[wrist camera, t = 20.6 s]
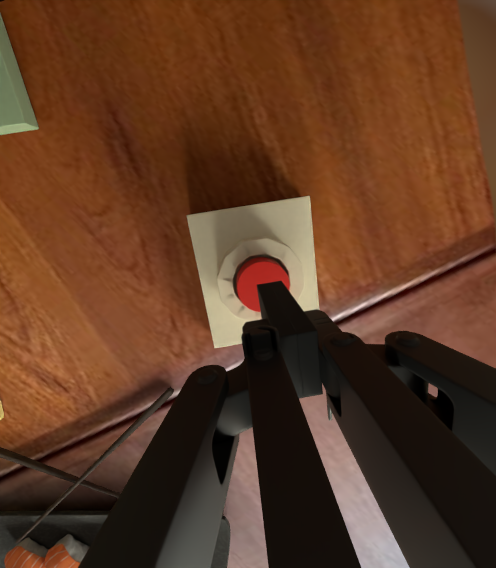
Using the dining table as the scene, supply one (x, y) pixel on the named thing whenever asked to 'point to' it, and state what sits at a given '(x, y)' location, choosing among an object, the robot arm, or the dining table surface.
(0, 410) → the cheese
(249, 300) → the stop button
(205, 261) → the control block
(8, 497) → the dining table surface
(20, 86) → the switch bracket
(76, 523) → the sushi plate
